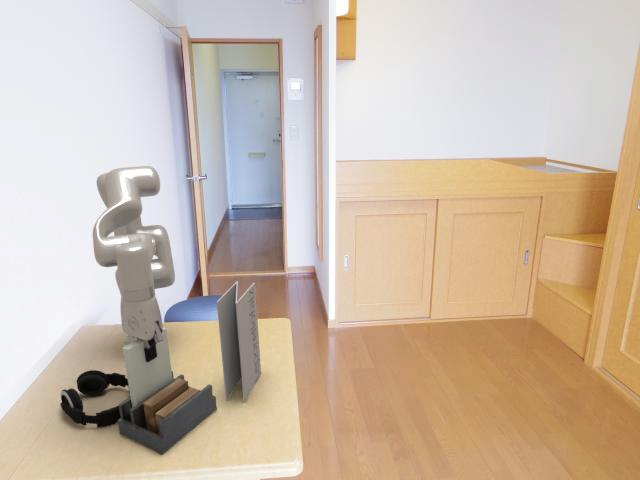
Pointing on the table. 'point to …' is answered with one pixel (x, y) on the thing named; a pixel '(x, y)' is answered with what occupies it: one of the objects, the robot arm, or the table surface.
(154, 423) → the offcut tall
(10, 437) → the table surface
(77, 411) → the headphones
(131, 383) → the pale grey panel
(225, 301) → the brochure
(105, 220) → the robot arm
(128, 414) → the rack
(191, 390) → the offcut short
